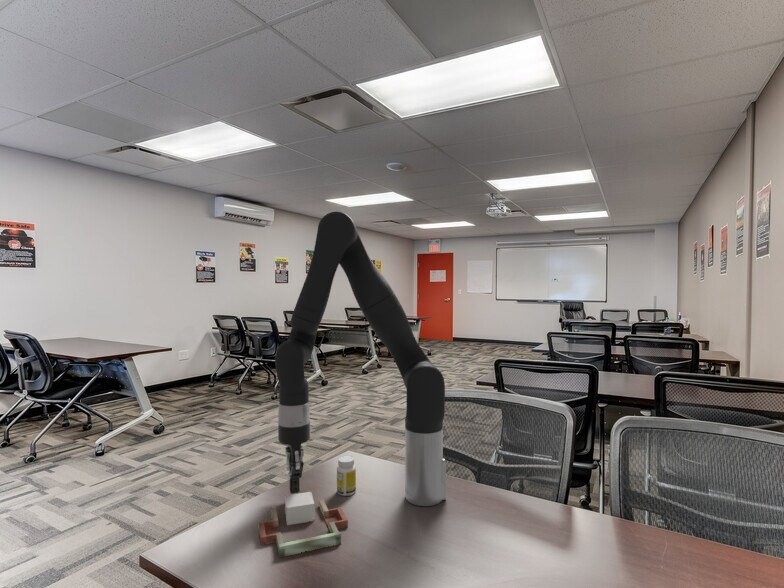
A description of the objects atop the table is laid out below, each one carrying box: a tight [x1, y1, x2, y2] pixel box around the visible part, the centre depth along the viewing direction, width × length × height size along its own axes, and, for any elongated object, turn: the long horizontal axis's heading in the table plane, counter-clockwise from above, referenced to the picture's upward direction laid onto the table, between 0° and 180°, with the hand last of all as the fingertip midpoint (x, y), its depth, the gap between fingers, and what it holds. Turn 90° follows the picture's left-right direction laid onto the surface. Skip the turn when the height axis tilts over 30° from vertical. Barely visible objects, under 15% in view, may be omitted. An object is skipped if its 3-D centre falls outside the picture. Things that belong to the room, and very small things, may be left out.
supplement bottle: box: [336, 455, 357, 497], centre depth 109 cm, size 5×5×8 cm
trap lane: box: [258, 498, 349, 558], centre depth 92 cm, size 18×17×2 cm
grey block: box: [284, 491, 316, 526], centre depth 97 cm, size 6×6×4 cm
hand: (294, 491), depth 105 cm, fingers closed
